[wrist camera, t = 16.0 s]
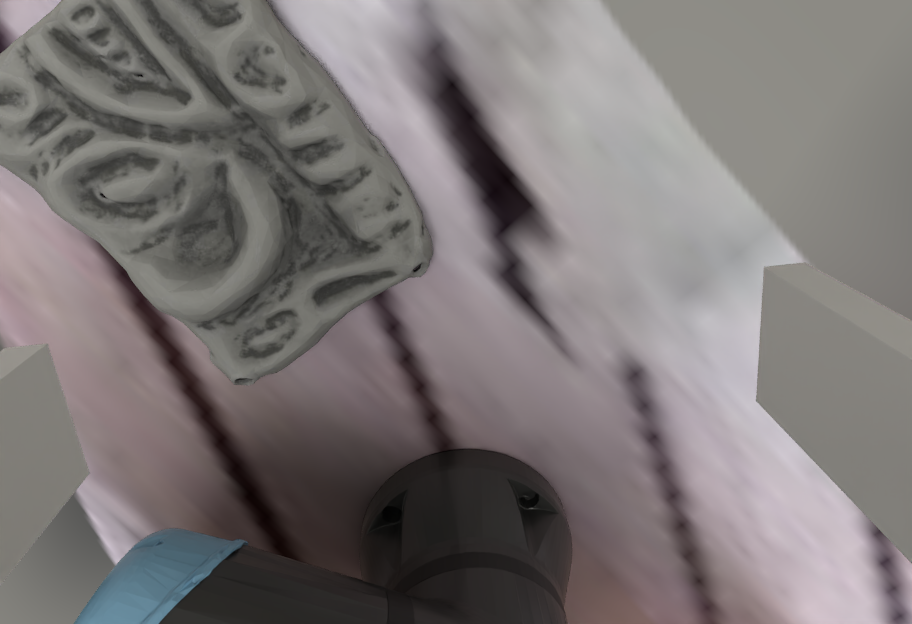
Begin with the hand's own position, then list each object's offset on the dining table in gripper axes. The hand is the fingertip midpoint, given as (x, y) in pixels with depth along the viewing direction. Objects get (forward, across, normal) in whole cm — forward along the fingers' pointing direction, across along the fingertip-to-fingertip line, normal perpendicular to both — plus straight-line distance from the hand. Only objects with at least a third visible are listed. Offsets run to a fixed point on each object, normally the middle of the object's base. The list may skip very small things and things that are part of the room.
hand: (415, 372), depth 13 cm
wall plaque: (+30, +12, 0) cm, 33 cm away
